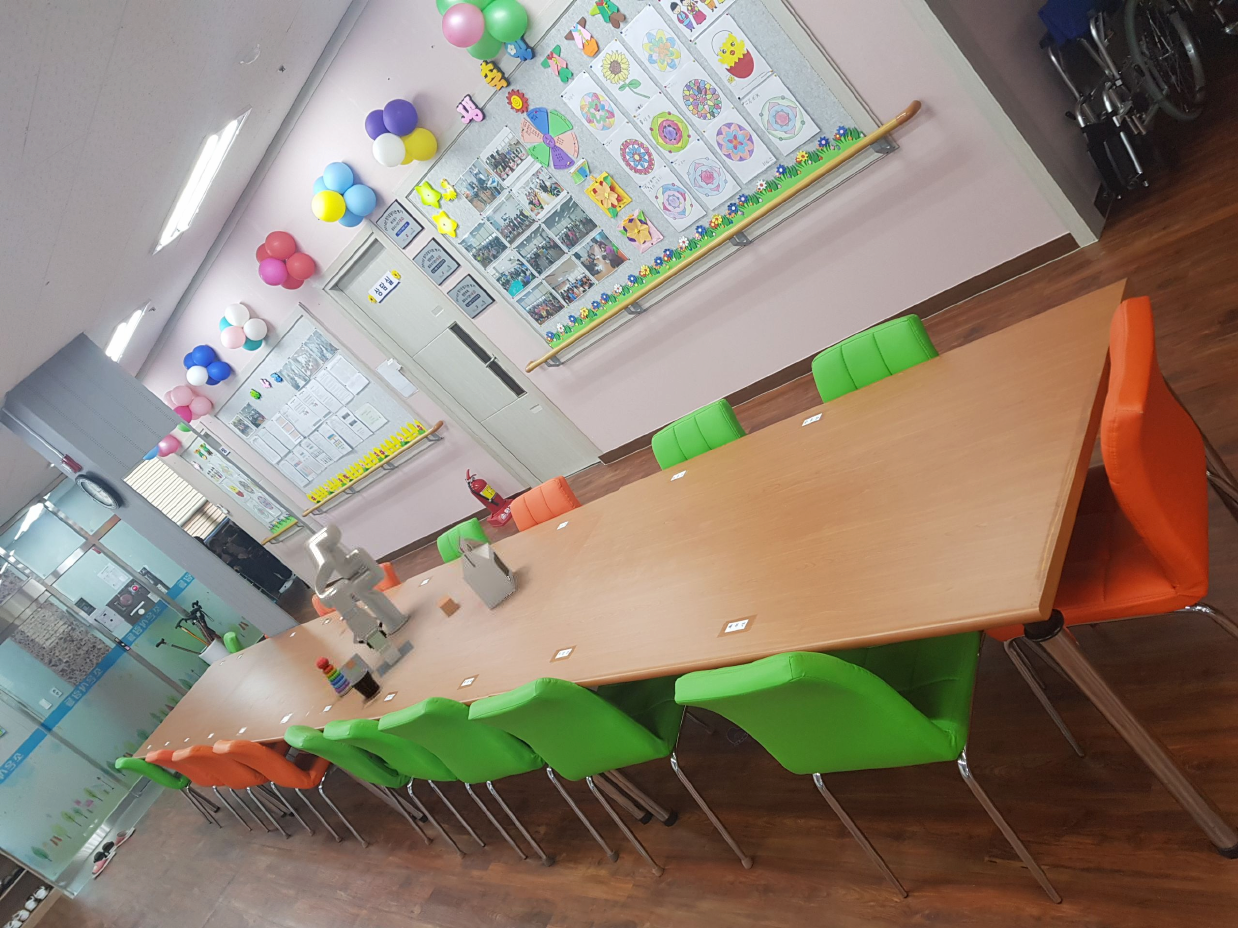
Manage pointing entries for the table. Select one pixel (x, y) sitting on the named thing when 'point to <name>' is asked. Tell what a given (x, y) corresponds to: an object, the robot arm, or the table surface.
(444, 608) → the terracotta block
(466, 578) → the gable box
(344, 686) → the stacking toy
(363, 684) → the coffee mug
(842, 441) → the table surface
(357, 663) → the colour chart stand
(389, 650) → the off-white base block
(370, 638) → the sage green block
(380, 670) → the build plate
